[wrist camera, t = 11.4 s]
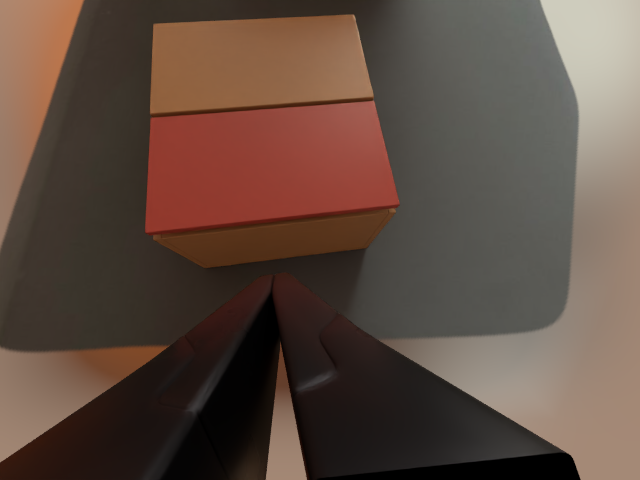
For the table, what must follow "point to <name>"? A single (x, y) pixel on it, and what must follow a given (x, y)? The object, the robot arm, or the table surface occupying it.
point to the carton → (255, 94)
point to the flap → (266, 166)
